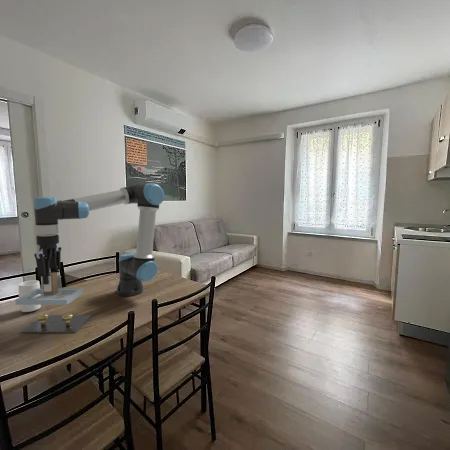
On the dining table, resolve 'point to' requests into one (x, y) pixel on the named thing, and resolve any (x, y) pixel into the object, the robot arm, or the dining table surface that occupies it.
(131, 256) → the robot arm
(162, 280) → the dining table surface
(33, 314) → the dining table surface
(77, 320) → the plate
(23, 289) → the cup
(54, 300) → the panel
